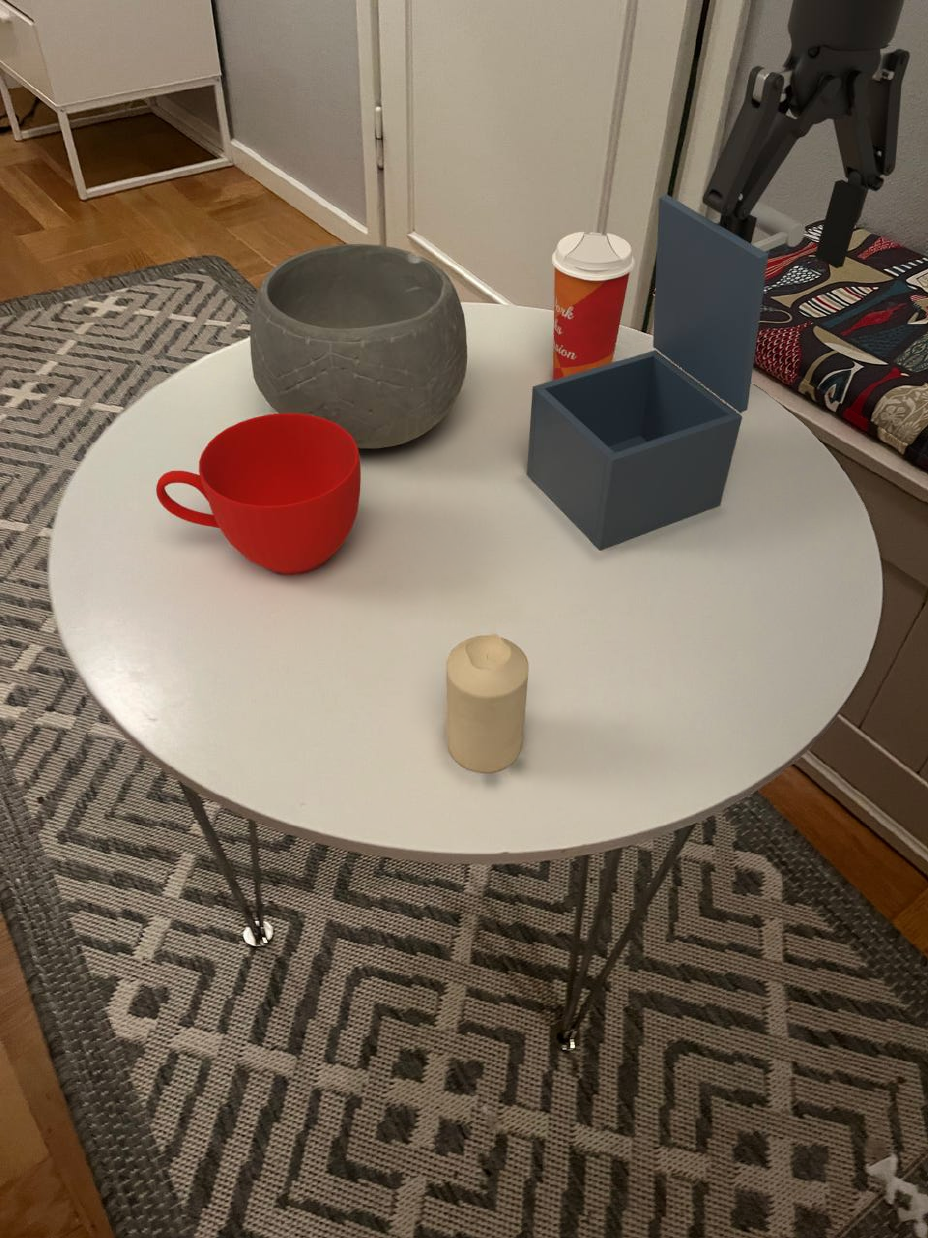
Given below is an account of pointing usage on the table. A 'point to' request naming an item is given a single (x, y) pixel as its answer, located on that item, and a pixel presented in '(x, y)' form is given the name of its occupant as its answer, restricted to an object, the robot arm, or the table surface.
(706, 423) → the open box
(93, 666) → the table surface
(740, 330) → the box lid
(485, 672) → the candle
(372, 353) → the bowl
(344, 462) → the ceramic cup
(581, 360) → the coffee cup
